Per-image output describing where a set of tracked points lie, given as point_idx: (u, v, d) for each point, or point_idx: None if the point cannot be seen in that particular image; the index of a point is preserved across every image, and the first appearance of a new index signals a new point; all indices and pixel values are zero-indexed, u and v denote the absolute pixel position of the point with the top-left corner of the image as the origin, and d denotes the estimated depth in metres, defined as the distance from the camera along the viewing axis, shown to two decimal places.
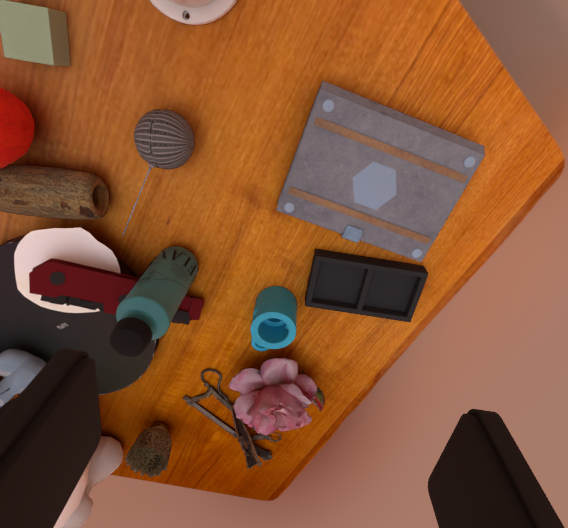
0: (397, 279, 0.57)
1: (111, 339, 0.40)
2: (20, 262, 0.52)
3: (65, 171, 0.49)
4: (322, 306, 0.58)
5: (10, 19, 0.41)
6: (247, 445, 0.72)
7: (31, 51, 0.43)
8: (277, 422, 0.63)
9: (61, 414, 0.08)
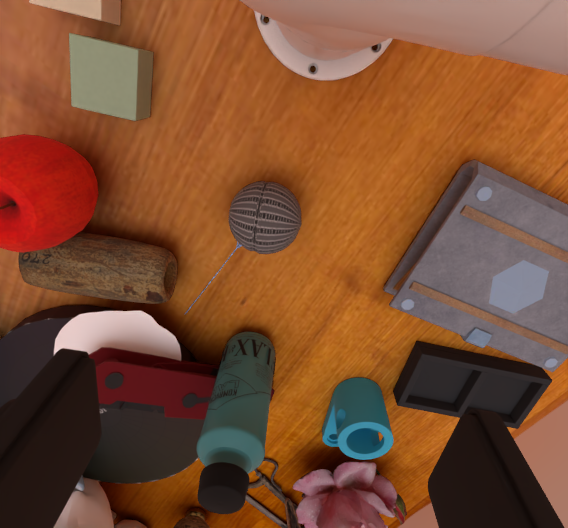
0: (509, 380, 0.48)
1: (201, 495, 0.30)
2: (62, 347, 0.42)
3: (131, 245, 0.39)
4: (417, 407, 0.48)
5: (86, 60, 0.31)
6: None
7: (108, 101, 0.33)
8: None
9: (61, 414, 0.08)
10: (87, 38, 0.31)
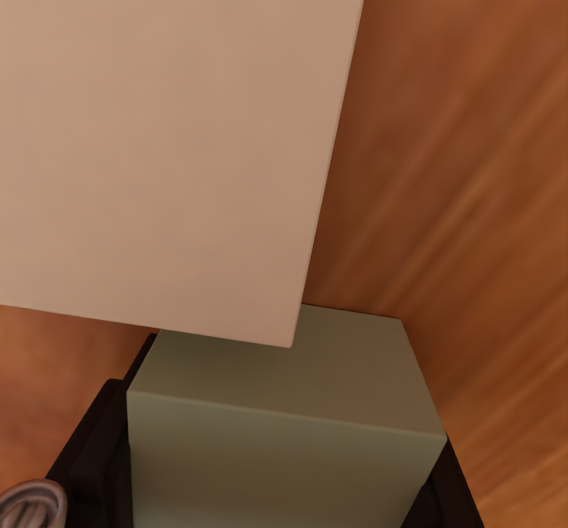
0: None
1: None
2: None
3: None
4: None
5: (200, 469, 0.07)
6: None
7: None
8: None
9: None
10: (212, 407, 0.06)
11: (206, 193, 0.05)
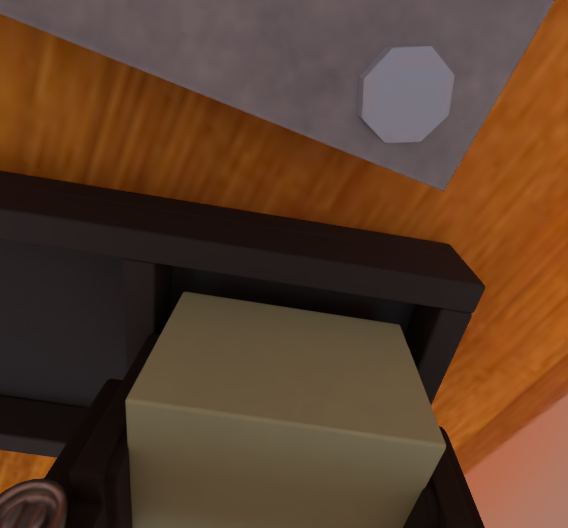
0: None
1: None
2: None
3: None
4: None
5: (198, 476, 0.07)
6: None
7: None
8: None
9: None
10: (211, 415, 0.06)
11: None
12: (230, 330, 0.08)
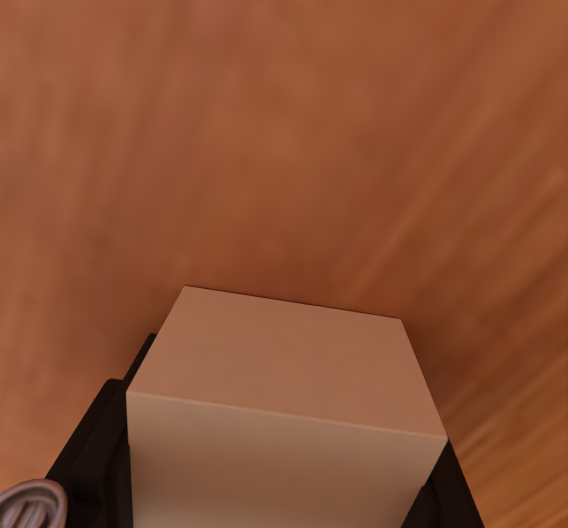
0: None
1: None
2: None
3: None
4: None
5: None
6: None
7: None
8: None
9: None
10: None
11: None
12: None
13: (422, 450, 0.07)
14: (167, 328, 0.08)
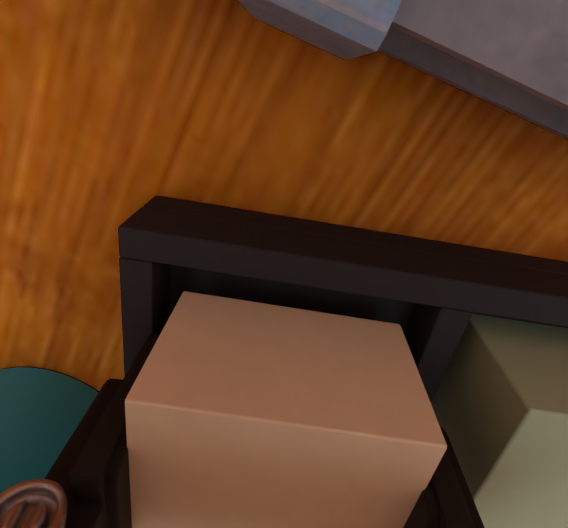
0: None
1: None
2: None
3: None
4: None
5: (555, 473, 0.09)
6: None
7: None
8: None
9: None
10: None
11: None
12: (536, 348, 0.10)
13: (421, 458, 0.07)
14: (166, 334, 0.08)
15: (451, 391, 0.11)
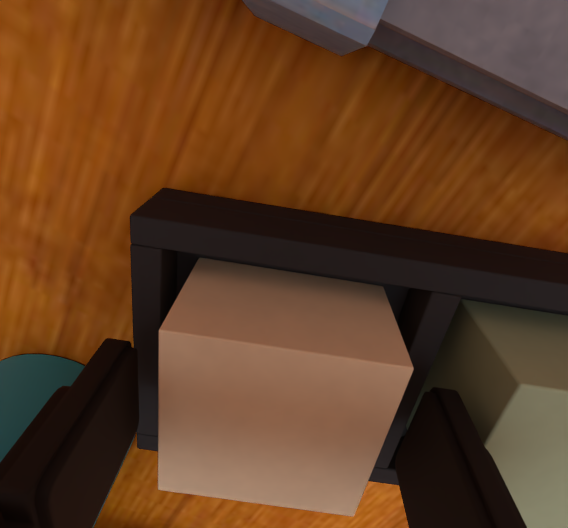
0: None
1: None
2: None
3: None
4: None
5: (544, 446, 0.09)
6: None
7: (563, 521, 0.10)
8: None
9: (111, 399, 0.08)
10: None
11: (319, 459, 0.10)
12: (528, 331, 0.10)
13: (393, 378, 0.08)
14: (187, 287, 0.10)
15: (448, 373, 0.12)
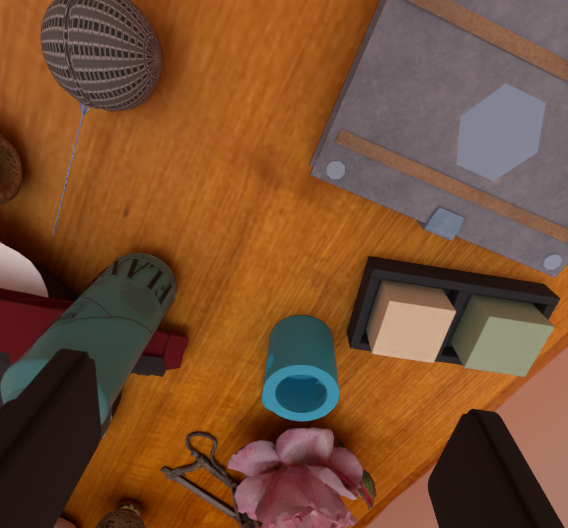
0: None
1: None
2: None
3: None
4: None
5: (497, 335, 0.32)
6: None
7: (504, 363, 0.33)
8: (301, 521, 0.41)
9: (61, 414, 0.08)
10: (506, 319, 0.31)
11: (426, 340, 0.33)
12: (493, 303, 0.33)
13: (450, 314, 0.31)
14: (386, 289, 0.33)
15: (468, 318, 0.34)
